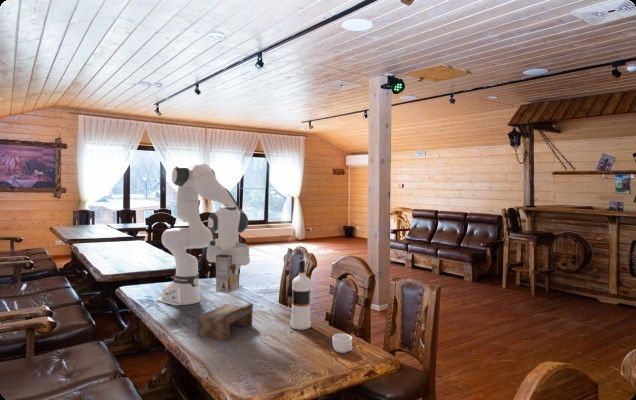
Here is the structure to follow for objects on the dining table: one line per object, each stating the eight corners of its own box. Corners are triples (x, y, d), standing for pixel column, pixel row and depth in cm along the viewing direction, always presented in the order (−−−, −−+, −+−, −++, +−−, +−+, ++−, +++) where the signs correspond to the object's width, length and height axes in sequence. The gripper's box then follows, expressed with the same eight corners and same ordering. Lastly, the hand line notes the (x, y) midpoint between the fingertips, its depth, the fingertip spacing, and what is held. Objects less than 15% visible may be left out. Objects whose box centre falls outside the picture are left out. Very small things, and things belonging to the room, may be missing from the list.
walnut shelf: (198, 335, 175) (198, 311, 174) (225, 321, 193) (225, 299, 193) (227, 341, 170) (227, 316, 169) (252, 325, 188) (252, 303, 188)
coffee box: (227, 287, 191) (227, 252, 190) (239, 288, 189) (239, 253, 188) (215, 292, 182) (215, 255, 182) (227, 293, 180) (228, 256, 180)
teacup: (328, 349, 165) (328, 335, 164) (343, 345, 169) (344, 332, 169) (343, 358, 156) (343, 344, 156) (359, 354, 160) (360, 340, 160)
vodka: (286, 324, 191) (288, 259, 189) (305, 322, 195) (307, 258, 193) (294, 331, 182) (296, 263, 181) (314, 329, 186) (316, 261, 185)
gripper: (252, 243, 184) (252, 274, 184) (213, 239, 191) (212, 270, 192) (245, 244, 178) (244, 277, 179) (204, 241, 185) (204, 272, 186)
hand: (227, 273), depth 185 cm, fingers closed on coffee box, 6 cm apart
